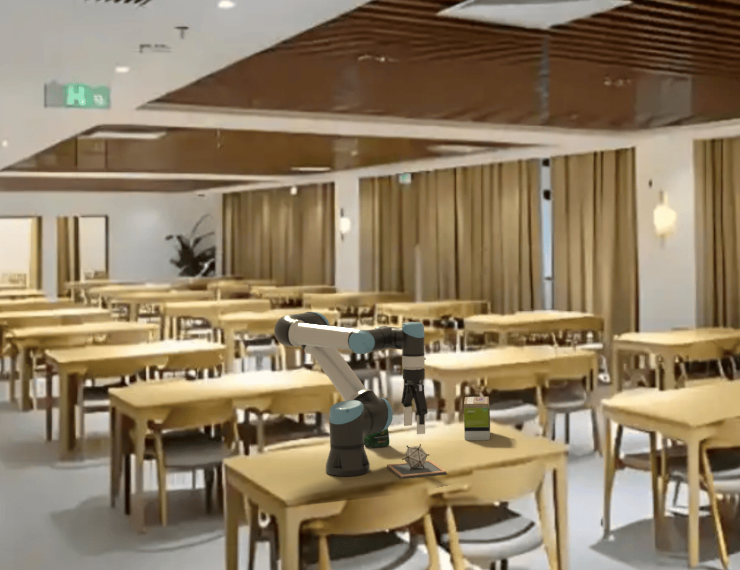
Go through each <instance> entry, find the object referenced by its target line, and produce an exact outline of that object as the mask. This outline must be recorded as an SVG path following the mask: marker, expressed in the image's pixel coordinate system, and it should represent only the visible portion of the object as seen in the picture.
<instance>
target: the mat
mask: <svg viewBox="0 0 740 570" xmlns="http://www.w3.org/2000/svg"><path fill="white" fill-rule="evenodd" d="M424 467H425V469H424V468H423V467H417V468H412V470H410V468H411V467H410V466H409V465H408V464H407V462H398V463H389V464H386V468H387V469H388V470H390V472H391V471H392V473H393V474H395V475H396V476H398V477H399V478H400V479H409V478H419V477H428V476H437V475H447V470H445V469H444V468H442V467H441V466H440V465H438V464H437V463H435V462H433V461H432V460H426V461H425V463H424Z"/></svg>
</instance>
